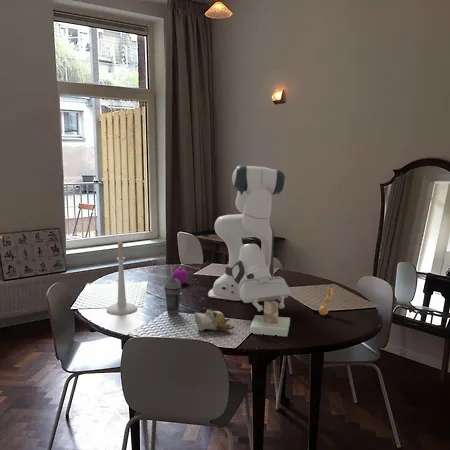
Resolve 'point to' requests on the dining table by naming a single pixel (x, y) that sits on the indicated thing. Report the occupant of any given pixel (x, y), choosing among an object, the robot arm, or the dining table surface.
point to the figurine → (323, 309)
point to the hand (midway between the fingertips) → (271, 309)
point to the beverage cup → (173, 295)
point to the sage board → (270, 326)
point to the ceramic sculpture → (212, 321)
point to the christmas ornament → (180, 275)
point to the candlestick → (121, 290)
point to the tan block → (270, 312)
